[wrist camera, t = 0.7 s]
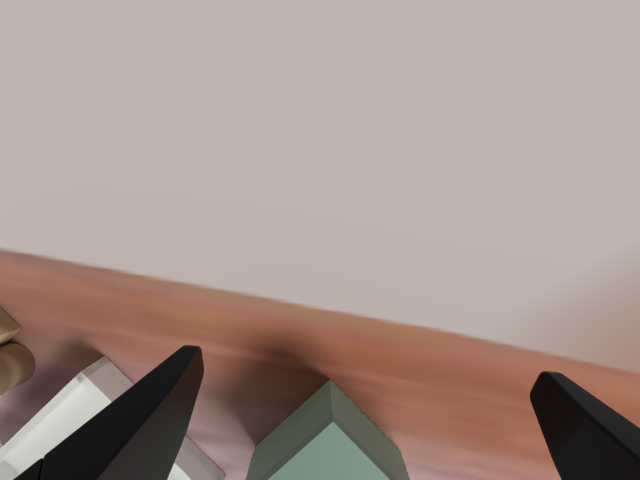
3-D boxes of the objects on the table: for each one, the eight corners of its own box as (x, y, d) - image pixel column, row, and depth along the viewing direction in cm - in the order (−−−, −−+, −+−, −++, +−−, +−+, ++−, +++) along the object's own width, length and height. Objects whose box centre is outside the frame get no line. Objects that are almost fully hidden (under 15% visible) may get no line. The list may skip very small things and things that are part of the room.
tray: (225, 474, 26) (215, 503, 23) (126, 564, 26) (106, 600, 24) (104, 355, 25) (80, 371, 22) (6, 450, 25) (-29, 476, 23)
